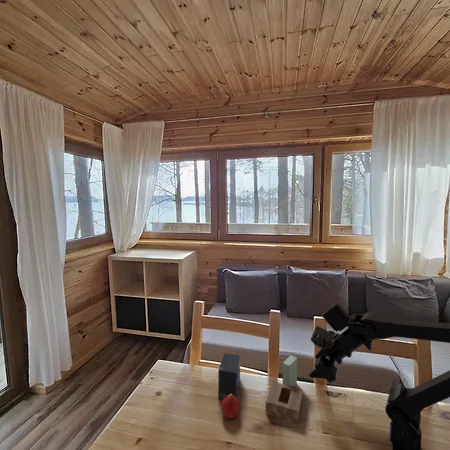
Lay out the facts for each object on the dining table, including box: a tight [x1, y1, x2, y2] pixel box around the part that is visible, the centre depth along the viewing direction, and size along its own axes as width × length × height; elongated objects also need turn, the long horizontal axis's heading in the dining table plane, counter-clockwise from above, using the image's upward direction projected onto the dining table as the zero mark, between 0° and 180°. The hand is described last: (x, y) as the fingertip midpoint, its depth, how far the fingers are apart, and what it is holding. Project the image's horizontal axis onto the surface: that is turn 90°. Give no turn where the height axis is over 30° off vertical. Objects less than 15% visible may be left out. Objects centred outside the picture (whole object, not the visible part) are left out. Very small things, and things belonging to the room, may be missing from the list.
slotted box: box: [265, 381, 304, 425], centre depth 86 cm, size 10×10×5 cm
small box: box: [217, 352, 241, 400], centre depth 96 cm, size 11×6×10 cm, turn 168°
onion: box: [221, 394, 241, 419], centre depth 83 cm, size 6×6×8 cm
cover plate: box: [282, 355, 298, 387], centre depth 95 cm, size 2×6×11 cm, turn 139°
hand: (313, 366), depth 89 cm, fingers open, 9 cm apart
